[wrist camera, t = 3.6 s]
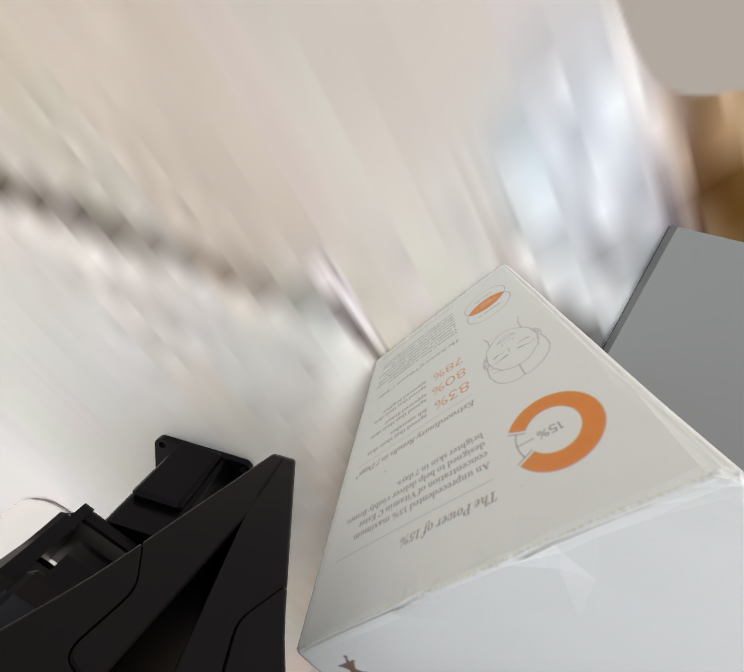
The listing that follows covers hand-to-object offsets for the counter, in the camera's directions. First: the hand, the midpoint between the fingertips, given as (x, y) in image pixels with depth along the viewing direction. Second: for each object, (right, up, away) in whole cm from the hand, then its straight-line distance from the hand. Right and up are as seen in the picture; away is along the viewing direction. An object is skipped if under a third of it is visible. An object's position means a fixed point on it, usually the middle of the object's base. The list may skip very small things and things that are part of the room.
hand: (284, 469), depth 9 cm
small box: (+7, +2, +9) cm, 12 cm away
